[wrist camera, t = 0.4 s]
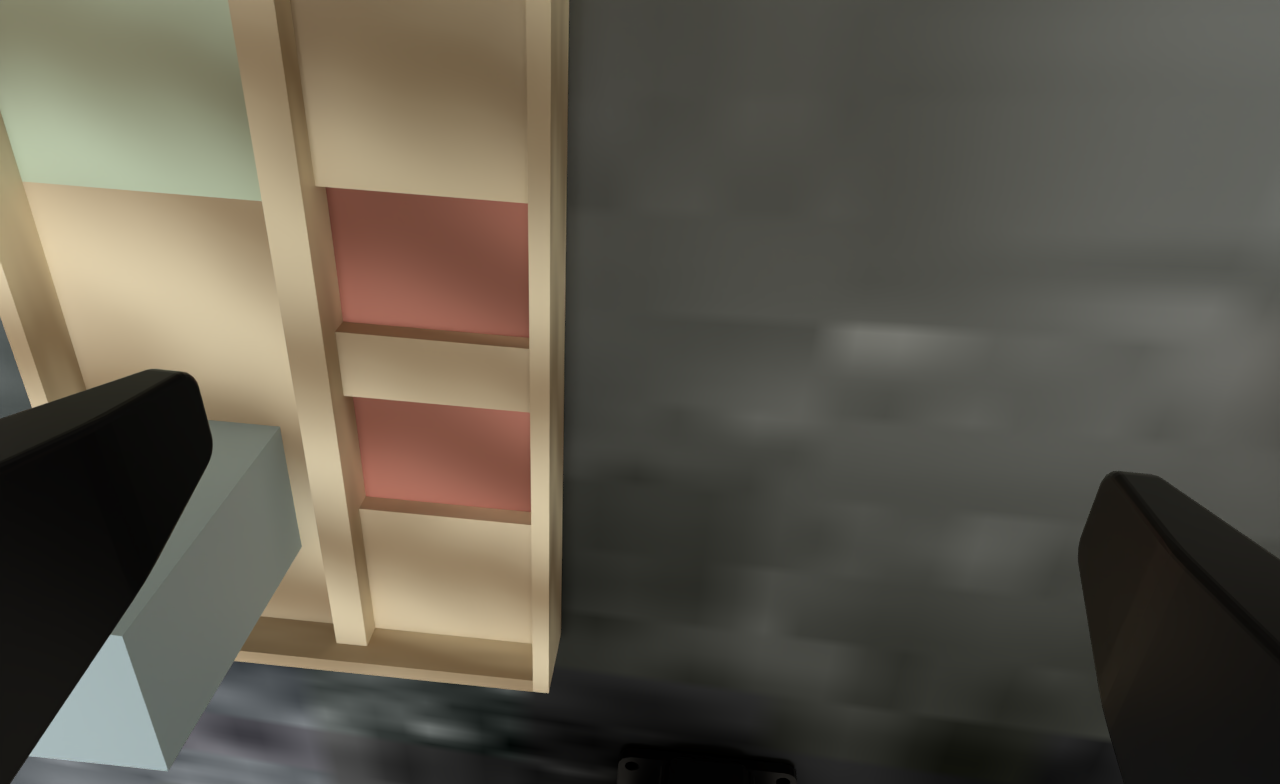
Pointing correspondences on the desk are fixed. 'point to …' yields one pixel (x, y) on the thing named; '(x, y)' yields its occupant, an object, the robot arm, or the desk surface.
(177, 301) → the wooden divided tray
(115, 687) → the block
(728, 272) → the desk surface
